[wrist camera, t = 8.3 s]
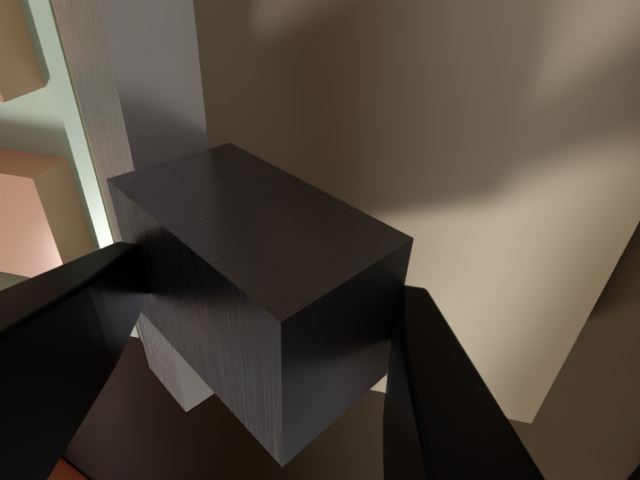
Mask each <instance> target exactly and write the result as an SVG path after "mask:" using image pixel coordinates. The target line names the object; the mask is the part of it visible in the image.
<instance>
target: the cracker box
mask: <svg viewBox="0 0 640 480" xmlns="http://www.w3.org/2000/svg"><path fill="white" fill-rule="evenodd" d="M47 480H88V479H87V478H86V477H85V476H83V475H82V474H81V473H80V472H78V471H77V470H76V469H75V468H73V467H72V466H71V465H70V464H68V463H67V462H66V461H64V460H63V459H62V458H60V459H59V461H58V463H57V464H56V466H55V468H54V469H53V471H52V473H51V474H50V476H49V478H48V479H47Z"/></svg>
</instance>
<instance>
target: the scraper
mask: <svg viewBox="0 0 640 480" xmlns="http://www.w3.org/2000/svg"><path fill="white" fill-rule="evenodd" d="M52 2H53V5H54V9H55V13H56V17H57V21H58V24H59V28H60V32H61V36H62V39H63V43H64V47H65V51H66V54H67V58H68V62H69V66H70V70H71V73H72V77H73V81H74V85H75V88H76V92H77V96H78V100H79V104H80V107H81V111H82V115H83V119H84V122H85V126H86V130H87V134H88V137H89V141H90V145H91V149H92V153H93V156H94V160H95V164H96V168H97V171H98V175H99V179H100V183H101V186H102V190H103V194H104V198H105V202H106V205H107V209H108V213H109V217H110V220H111V224H112V228H113V232H114V236H115V239H116V242H129V243H135V244H138V245H139V247H140V250H141V254H142V259H143V263H144V267H145V272H146V276H147V280H148V285H149V289H150V294H149V297H148V299H147V301H146V303H145V305H144V307H143V309H142V312H141V314H140V316H139V318H138V320H137V322H138V326H139V330H140V334H141V337H142V341H143V345H144V349H145V352H146V356H147V360H148V364H149V367H150V369H151V370H152V371H153V372H154V374H155V375H156V376H157V377H158V379H159V380H160V381H161V382H162V383H163V385H164V386H165V387H166V388H167V390H168V391H169V392H170V393H171V394H172V396H173V397H174V398H175V399H176V401H177V402H178V403H179V404H180V406H181V407H182V408H183V409H184V410H185V412H187V411H189V410H190V409H192V408H193V407H195V406H196V405H198V404H199V403H201V402H202V401H204V400H205V399H207V398H208V397H210V396H211V395H212V394H214V393H215V394H216V395H217V396H218V397H219V398H220V399H221V401H222V402H223V403H224V404H225V405H226V406H227V407H228V408H229V409H230V410H231V412H232V413H233V414H234V415H235V416H236V417H237V418H238V419H239V420H240V421H241V423H242V424H243V425H244V426H245V427H246V428H247V429H248V430H249V431H250V433H251V434H252V435H253V436H254V437H255V438H256V439H257V440H258V441H259V442H260V444H261V445H262V446H263V447H264V448H265V449H266V450H267V451H268V452H269V453H270V455H271V456H272V457H273V458H274V459H275V460H276V461H277V462H278V463H279V465H280V466H281V467H283V466H284V465H286V464H287V463H288V462H289V461H290V460H291V459H292V458H293V457H295V456H296V455H297V454H298V453H299V452H300V451H301V450H302V449H304V448H305V447H306V446H307V445H308V444H309V443H310V442H311V441H313V440H314V439H315V438H316V437H317V436H318V435H319V434H320V433H322V432H323V431H324V430H325V429H326V428H327V427H328V426H329V425H331V424H332V423H333V422H334V421H335V420H336V419H337V418H338V417H340V416H341V415H342V414H343V413H344V412H345V411H346V410H347V409H349V408H350V407H351V406H352V405H353V404H354V403H355V402H356V401H358V400H359V399H360V398H361V397H362V396H363V395H364V394H365V393H367V392H368V391H369V390H370V389H371V388H372V387H373V386H374V385H376V384H377V383H378V382H379V381H380V380H381V379H382V378H383V377H385V376H386V375H387V372H388V363H389V354H390V345H391V337H392V332H393V327H394V321H395V316H396V311H397V306H398V301H399V295H400V291H401V289H402V288H403V287H404V286H405V281H406V275H407V270H408V265H409V260H410V255H411V250H412V245H413V240H414V238H413V237H411V236H409V235H407V234H405V233H403V232H401V231H399V230H397V229H395V228H393V227H391V226H389V225H388V224H386V223H384V222H382V221H380V220H378V219H376V218H374V217H372V216H370V215H368V214H366V213H364V212H363V211H361V210H359V209H357V208H355V207H353V206H351V205H349V204H347V203H345V202H343V201H341V200H339V199H338V198H336V197H334V196H332V195H330V194H328V193H326V192H324V191H322V190H320V189H318V188H316V187H314V186H312V185H311V184H309V183H307V182H305V181H303V180H301V179H299V178H297V177H295V176H293V175H291V174H289V173H287V172H286V171H284V170H282V169H280V168H278V167H276V166H274V165H272V164H270V163H268V162H266V161H264V160H262V159H261V158H259V157H257V156H255V155H253V154H251V153H249V152H247V151H245V150H243V149H241V148H239V147H237V146H236V145H234V144H232V143H227V144H224V145H220V146H217V147H214V148H210V149H209V147H208V138H207V128H206V119H205V109H204V100H203V91H202V81H201V72H200V62H199V53H198V43H197V34H196V24H195V15H194V5H193V0H52Z"/></svg>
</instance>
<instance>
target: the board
mask: <svg viewBox="0 0 640 480" xmlns="http://www.w3.org/2000/svg"><path fill="white" fill-rule="evenodd" d="M52 4H53V2H52ZM193 5H194V15H195V24H196V34H197V43H198V53H199V62H200V72H201V81H202V91H203V100H204V109H205V119H206V128H207V138H208V147H209V149H210V148H214V147H217V146H220V145H224V144H227V143H232V144H234V145H236V146H237V147H239V148H241V149H243V150H245V151H247V152H249V153H251V154H253V155H255V156H257V157H259V158H261V159H262V160H264V161H266V162H268V163H270V164H272V165H274V166H276V167H278V168H280V169H282V170H284V171H286V172H287V173H289V174H291V175H293V176H295V177H297V178H299V179H301V180H303V181H305V182H307V183H309V184H311V185H312V186H314V187H316V188H318V189H320V190H322V191H324V192H326V193H328V194H330V195H332V196H334V197H336V198H338V199H339V200H341V201H343V202H345V203H347V204H349V205H351V206H353V207H355V208H357V209H359V210H361V211H363V212H364V213H366V214H368V215H370V216H372V217H374V218H376V219H378V220H380V221H382V222H384V223H386V224H388V225H389V226H391V227H393V228H395V229H397V230H399V231H401V232H403V233H405V234H407V235H409V236H411V237H413V238H414V240H413V245H412V250H411V255H410V260H409V265H408V270H407V275H406V281H405V285H410V286H416V287H423V288H425V289H427V290H428V292H429V293H430V295H431V296H432V298H433V300H434V301H435V303H436V304H437V306H438V308H439V309H440V311H441V312H442V314H443V316H444V317H445V319H446V321H447V322H448V324H449V325H450V327H451V329H452V330H453V332H454V333H455V335H456V337H457V338H458V340H459V341H460V343H461V345H462V346H463V348H464V350H465V351H466V353H467V354H468V356H469V358H470V359H471V361H472V362H473V364H474V366H475V367H476V369H477V370H478V372H479V374H480V375H481V377H482V379H483V380H484V382H485V383H486V385H487V387H488V388H489V390H490V391H491V393H492V395H493V396H494V398H495V399H496V401H497V403H498V404H499V406H500V408H501V409H502V411H503V412H504V414H505V416H506V417H507V419H512V420H517V421H522V422H526V423H532V421H533V419H534V417H535V415H536V414H537V412H538V410H539V408H540V406H541V404H542V402H543V400H544V399H545V397H546V395H547V393H548V391H549V389H550V387H551V386H552V384H553V382H554V380H555V378H556V376H557V374H558V373H559V371H560V369H561V367H562V365H563V363H564V361H565V359H566V358H567V356H568V354H569V352H570V350H571V348H572V346H573V345H574V343H575V341H576V339H577V337H578V335H579V333H580V331H581V330H582V328H583V326H584V324H585V322H586V320H587V318H588V317H589V315H590V313H591V311H592V309H593V307H594V305H595V303H596V302H597V300H598V298H599V296H600V294H601V292H602V290H603V289H604V287H605V285H606V283H607V281H608V279H609V277H610V276H611V274H612V272H613V270H614V268H615V266H616V264H617V262H618V261H619V259H620V257H621V255H622V253H623V251H624V249H625V248H626V246H627V244H628V242H629V240H630V238H631V236H632V234H633V233H634V231H635V229H636V227H637V225H638V223H639V221H640V0H193ZM53 8H54V5H53ZM54 12H55V9H54ZM55 15H56V13H55ZM56 19H57V17H56ZM57 23H58V21H57ZM58 27H59V24H58ZM59 31H60V28H59ZM60 34H61V32H60ZM61 38H62V36H61ZM62 42H63V39H62ZM63 46H64V43H63ZM64 49H65V47H64ZM65 53H66V51H65ZM66 57H67V54H66ZM67 61H68V58H67ZM68 65H69V62H68ZM69 68H70V66H69ZM70 72H71V70H70ZM71 76H72V73H71ZM72 80H73V77H72ZM73 84H74V81H73ZM74 87H75V85H74ZM75 91H76V88H75ZM76 95H77V92H76ZM77 99H78V96H77ZM78 102H79V100H78ZM79 106H80V104H79ZM80 110H81V107H80ZM81 114H82V111H81ZM82 118H83V115H82ZM83 121H84V119H83ZM84 125H85V122H84ZM85 129H86V126H85ZM86 133H87V130H86ZM87 137H88V134H87ZM88 140H89V137H88ZM89 144H90V141H89ZM90 148H91V145H90ZM91 152H92V149H91ZM92 156H93V153H92ZM93 159H94V156H93ZM94 163H95V160H94ZM95 167H96V164H95ZM96 171H97V168H96ZM97 174H98V171H97ZM98 178H99V175H98ZM99 182H100V179H99ZM100 186H101V183H100ZM101 190H102V186H101ZM102 193H103V190H102ZM103 197H104V194H103ZM104 201H105V198H104ZM105 205H106V202H105ZM106 209H107V205H106ZM107 212H108V209H107ZM108 216H109V213H108ZM109 220H110V217H109ZM110 224H111V220H110ZM111 227H112V224H111ZM112 231H113V228H112ZM113 235H114V232H113ZM114 239H115V236H114ZM115 242H116V239H115ZM137 326H138V322H137ZM138 330H139V326H138ZM139 334H140V330H139ZM140 337H141V334H140ZM141 341H142V337H141ZM387 373H388V372H387ZM386 382H387V375H386V376H385V377H383V378H382V379H381V380H380V381H379V382H378V383H377V384H376V385H374V386H373V387H372V388H371V389H370V390H375V391H380V392H384V393H385V391H386Z"/></svg>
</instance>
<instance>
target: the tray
mask: <svg viewBox="0 0 640 480" xmlns="http://www.w3.org/2000/svg"><path fill="white" fill-rule="evenodd" d="M20 3H21V6H22V10H23V13H24V16H25V20H26V23H27V26H28V30H29V33H30V37H31V40H32V43H33V47H34V50H35V53H36V57H37V60H38V63H39V67H40V70H41V73H42V77H43V80H44V83H45V87H44V88H41V89H38V90H36V91H33V92H31V93H28V94H25V95H23V96H20V97H17V98H15V99H12V100H9V101H7V102H0V148H6V149H13V150H19V151H26V152H32V153H39V154H46V155H52V156H59V157H66V158H68V160H69V163H70V166H71V170H72V173H73V177H74V180H75V183H76V187H77V190H78V194H79V197H80V200H81V204H82V207H83V211H84V214H85V217H86V221H87V224H88V228H89V231H90V234H91V238H92V241H93V244H94V248H95V251H96V250H99V249H101V248H103V247H106V246H108V245H111V244H113V243H115V239H114V235H113V231H112V227H111V224H110V220H109V216H108V212H107V209H106V205H105V201H104V197H103V193H102V190H101V186H100V182H99V178H98V174H97V171H96V167H95V163H94V159H93V156H92V152H91V148H90V144H89V140H88V137H87V133H86V129H85V125H84V121H83V118H82V114H81V110H80V106H79V102H78V99H77V95H76V91H75V87H74V84H73V80H72V76H71V72H70V68H69V65H68V61H67V57H66V53H65V49H64V46H63V42H62V38H61V34H60V31H59V27H58V23H57V19H56V15H55V12H54V8H53V4H52V0H20ZM29 278H31V277H26V276H21V275H15V274H10V273H5V272H0V291H1V290H3V289H6V288H8V287H10V286H13V285H15V284H18V283H20V282H22V281H25V280H27V279H29ZM130 336H132V337H137V338H139V337H140V334H139V330H138V326H137V322H136V324H135V327H134V329H133V331H132V333H131V335H130Z"/></svg>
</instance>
